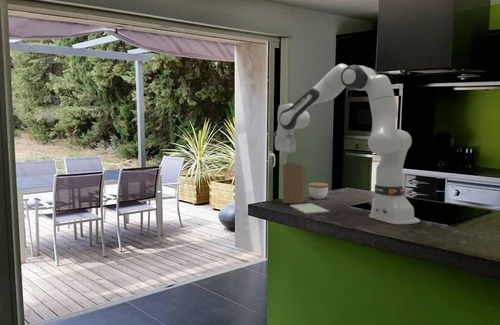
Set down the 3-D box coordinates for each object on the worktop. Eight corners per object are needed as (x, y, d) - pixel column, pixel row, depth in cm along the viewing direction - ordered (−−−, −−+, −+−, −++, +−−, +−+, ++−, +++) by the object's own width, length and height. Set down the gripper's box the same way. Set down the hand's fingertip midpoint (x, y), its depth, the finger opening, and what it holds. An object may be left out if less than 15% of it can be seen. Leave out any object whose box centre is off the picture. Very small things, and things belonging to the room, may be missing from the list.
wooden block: (282, 203, 230) (282, 164, 229) (286, 200, 240) (286, 162, 239) (301, 204, 228) (301, 164, 226) (305, 201, 237) (305, 163, 236)
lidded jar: (332, 198, 247) (332, 181, 246) (319, 201, 240) (320, 183, 239) (316, 195, 255) (317, 179, 254) (304, 198, 248) (304, 181, 246)
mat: (328, 211, 214) (328, 210, 213) (305, 213, 210) (305, 212, 210) (311, 204, 230) (311, 203, 230) (289, 206, 227) (289, 204, 227)
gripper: (299, 135, 232) (298, 162, 234) (283, 132, 252) (283, 157, 253) (287, 135, 230) (287, 162, 232) (272, 133, 250) (272, 158, 251)
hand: (285, 159), depth 243 cm, fingers closed
